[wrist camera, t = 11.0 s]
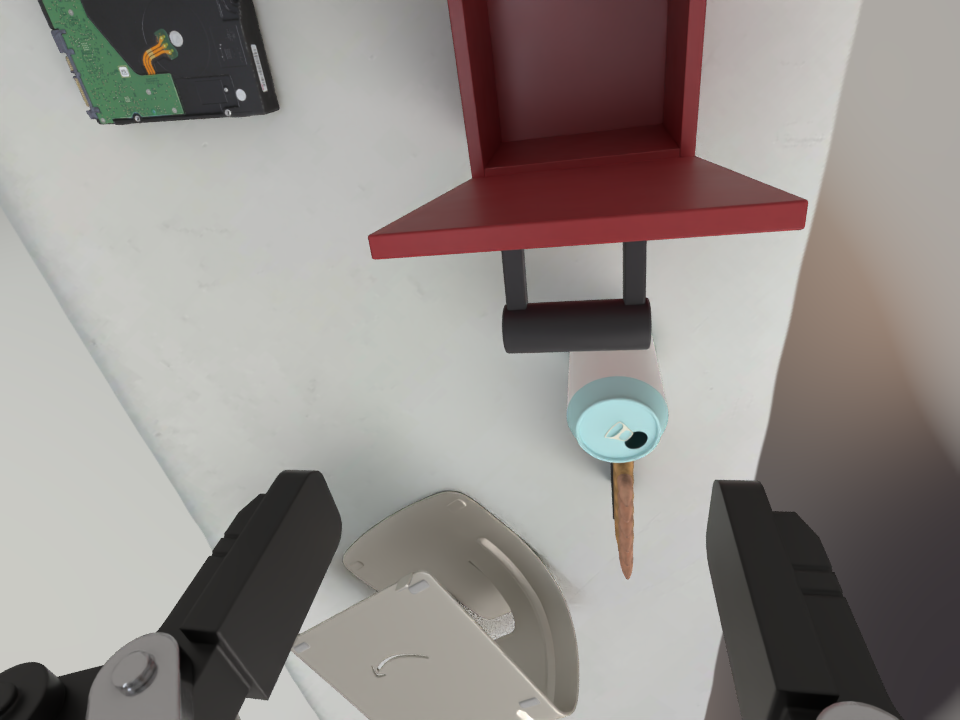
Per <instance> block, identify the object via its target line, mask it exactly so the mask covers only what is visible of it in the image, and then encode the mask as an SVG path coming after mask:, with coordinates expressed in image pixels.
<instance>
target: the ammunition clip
mask: <svg viewBox="0 0 960 720" xmlns="http://www.w3.org/2000/svg"><path fill="white" fill-rule="evenodd" d="M633 468H634V462H633V461H631V462H625V463H612V462H611V486H612V505H613V519H615V535H616V540H617V543H618V551H619V559H620V564H621V568H622V571H623V574H624V576H625V577H626V579H629V578H630V576H631V573H632V568H633V539H634V533H633V526H634V520H633V513H634V506H633V499H634V493H633V483H634V478H633Z"/></svg>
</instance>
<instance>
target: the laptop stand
mask: <svg viewBox="0 0 960 720" xmlns="http://www.w3.org/2000/svg"><path fill="white" fill-rule="evenodd" d="M343 563H344V565H345V567H346V568H347V569H348V570H349V571H350V572H351V573H353V574H354V575H355V576H356V577H358V578H359V579H361V580H362V581H363V582H365V583H366V584H368V585H369V586H371V587H372V588H373V589H375V590H376V591H378V592H377V593H375V594H373V595H371V596H370V597H368V598H366V599H364V600H362V601H360V602H359V603H357V604H355V605H353V606H351V607H349V608H347V609H346V610H344V611H342V612H340V613H338V614H336V615H334V616H333V617H331V618H329V619H327V620H325V621H323V622H322V623H320V624H318V625H316V626H314V627H312V628H310V629H309V630H307V631H305V632H303V633H301V634H298V635H297V638H296V640H295V642H294V644H293V646H292V649H291V651H292V652H293V653H294V654H295V655H296V656H297V657H299V658H300V659H301V660H302V661H303V662H304V663H306V664H307V665H308V666H309V667H310V668H311V669H312V670H314V671H315V672H316V673H317V674H318V675H319V676H321V677H322V678H323V679H324V680H325V681H326V682H327V683H329V684H330V685H331V686H332V687H333V688H334V689H335V690H337V691H338V692H339V693H340V694H341V695H342V696H343V697H345V698H346V699H347V700H348V701H349V702H350V703H351V704H352V705H354V706H355V707H356V708H357V709H358V710H359V711H360V712H362V713H363V714H364V715H365V716H366V717H367V718H368V719H370V720H555V719H559V718H563V717H566V716H569V715H571V714H572V713H573V712H574V711H575V709H576V705H577V701H578V693H579V657H578V648H577V641H576V635H575V630H574V625H573V622H572V618H571V615H570V612H569V609H568V606H567V603H566V601H565V598H564V596H563V594H562V592H561V590H560V588H559V586H558V584H557V583H556V581H555V580H554V578H553V577H552V575H551V574H550V572H549V571H548V569H547V568H546V567H545V565H544V564H543V563H542V561H541V560H540V559H539V557H538V556H537V555H536V554H535V553H534V552H533V551H532V550H531V548H530V547H529V546H528V545H527V544H526V543H525V542H524V541H523V540H522V539H521V538H520V537H519V536H518V535H517V534H515V533H514V532H513V531H512V530H510V529H509V528H508V527H507V526H505V525H504V524H503V523H502V522H500V521H499V520H498V519H497V518H495V517H494V516H493V515H492V514H490V513H489V512H488V511H487V510H486V509H484V508H483V507H482V506H481V505H479V504H478V503H477V502H475V501H474V500H472V499H471V498H469V497H468V496H466V495H464V494H461V493H458V492H453V491H447V492H441V493H438V494H435V495H432V496H430V497H427V498H425V499H422V500H420V501H418V502H416V503H414V504H411V505H409V506H407V507H405V508H403V509H402V510H400V511H398V512H396V513H394V514H393V515H391V516H389V517H388V518H386V519H384V520H383V521H381V522H380V523H378V524H377V525H375V526H374V527H373V528H371V529H370V530H369V531H367V532H366V533H365V534H364V535H362V536H361V537H360V538H359V539H358V540H357V541H356V542H355V543H354V544H353V545H352V546H351V547H350V548H349V549H348V550H347V551H346V553H345V554H344V556H343ZM455 599H456V600H457V601H459V602H460V603H462V604H463V605H464V606H466V607H467V608H469V609H470V610H472V611H473V612H474V613H476V614H477V615H479V616H481V617H482V618H485V619H494V618H497V617H500V616H502V615H505V614H507V613H510V612H512V614H513V616H514V620H515V629H514V631H513V632H512V633H510V634H507V635H505V636H503V637H500V638H498V639H495V640H493V639H492V638H491V637H490V636H489V635H488V634H487V633H486V632H485V631H484V629H483V628H482V627H481V626H480V625H479V624H478V623H477V622H476V621H475V620H474V619H473V618H472V617H471V616H470V615H469V613H468V612H467V611H466V610H465V609H464V608H463V607H462V606H461V605H460V604H459V603H458V602H457V601H456V600H455ZM401 654H413V655H402V656H397V657H394V658H392V659H390V660H388V661H387V662H386V663H385V664H384V665H383V666H382V667H381V669H378V666H379V664H380V663H381V662H382V661H384V660H385V659H387V658H389V657H391V656H394V655H401ZM421 655H424V656H421ZM373 668H374V669H373ZM374 670H375V671H374ZM375 672H376V673H375ZM377 674H384V675H377Z"/></svg>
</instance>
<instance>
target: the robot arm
mask: <svg viewBox="0 0 960 720" xmlns="http://www.w3.org/2000/svg"><path fill="white" fill-rule="evenodd" d="M341 532H342V521H341V517H340V514H339V512H338V509H337V507H336V504H335V502H334V500H333V497H332V495H331V493H330V490H329V488H328V486H327V483H326V481H325V479H324V477H323V475H322V473H321V472H319V471H311V470H285V471H282V472H281V473H280V474H279V475H278V476H277V478H276V479H275V481H274V482H273V484H272V485H271V487H270V488H269V490H268V491H267V493H266V494H259V495H258V496H257V497H256V498H255V499H253V500H252V501H251V502H250V503H249V504H248V505H247V506H245V507H244V508H243V509H242V510H241V511H240V512H239V513H238V514H237V516H236V517H235V519H234V520H233V522H232V523H231V525H230V526H229V528H228V529H227V530H226V532H225V533H224V534H225V536H224V538H221V539H220V541H219V542H218V544H217V545H216V547H215V548H214V550H213V551H212V552H213V554H212V556H209V557H208V558H207V560H206V561H205V563H204V564H203V566H202V567H201V569H200V570H199V572H198V573H197V575H196V576H195V578H194V579H193V581H192V582H191V584H190V585H189V586H188V588H187V590H186V591H185V593H184V594H183V595H182V597H181V598H180V600H179V601H178V603H177V604H176V606H175V607H174V609H173V610H172V612H171V613H170V615H169V616H168V618H167V619H166V620H165V622H164V623H163V624H162V626H161V627H160V628H159V630H158V631H157V632H156V633H150V634H146V635H143V636H141V637H139V638H136V639H135V640H133V641H131V642H129V643H128V644H126V645H125V646H123V647H122V648H121V649H120V650H118V651H117V652H116V653H115V654H114V655H113V656H112V657H111V658H110V659H109V660H108V661H107V662H106V663H105V664H104V665H102V666H99V667H95V668H91V669H87V670H83V671H79V672H75V673H71V674H67V675H63V676H59V677H56V676H55V675H54V674H53V673H52V672H51V671H50V670H48V669H47V668H46V667H45V666H44V665H42V664H40V663H36V662H28V663H23V664H19V665H17V666H14V667H12V668H10V669H8V670H5V671H4V672H2V673H0V720H240V717H239V715H238V712H239V710H240V708H241V706H242V704H243V702H244V700H245V698H253V699H261V700H268V699H269V697H270V695H271V692H272V690H273V688H274V686H275V683H276V682H277V679H278V677H279V675H280V673H281V671H282V668H283V666H284V664H285V662H286V660H287V657H288V655H289V653H290V651H291V649H292V646H293V644H294V642H295V640H296V638H297V635H298V633H299V631H300V629H301V627H302V624H303V622H304V620H305V618H306V616H307V613H308V611H309V609H310V607H311V605H312V602H313V600H314V598H315V596H316V594H317V591H318V589H319V587H320V585H321V583H322V580H323V578H324V576H325V574H326V572H327V569H328V567H329V565H330V563H331V561H332V558H333V556H334V554H335V552H336V550H337V547H338V545H339V542H340V538H341ZM706 550H707V559H708V565H709V570H710V575H711V579H712V584H713V589H714V593H715V598H716V602H717V607H718V611H719V616H720V621H721V625H722V630H723V634H724V639H725V643H726V648H727V653H728V657H729V662H730V667H731V671H732V676H733V680H734V685H735V690H736V694H737V699H738V703H739V707H740V712H741V717H742V720H904V719H903V718H902V717H901V716H900V714H899V713H898V711H897V710H896V708H895V707H894V705H893V704H892V702H891V700H890V698H889V696H888V694H887V692H886V690H885V687H884V686H883V683H882V680H881V678H880V676H879V674H878V671H877V669H876V667H875V664H874V662H873V660H872V658H871V655H870V653H869V651H868V648H867V646H866V644H865V642H864V639H863V637H862V635H861V632H860V630H859V628H858V625H857V623H856V621H855V619H854V616H853V614H852V612H851V609H850V607H849V605H848V602H847V600H846V598H845V597H843V595H842V589H841V587H840V584H839V582H838V580H837V577H836V575H835V573H834V572H832V566H831V564H830V561H829V559H828V557H827V554H826V552H825V550H824V547H823V545H822V543H821V540H820V538H819V537H818V536H817V535H816V534H815V533H814V531H813V530H812V529H811V528H810V527H809V526H808V525H807V524H806V523H805V522H804V521H803V520H802V519H801V518H800V517H799V516H798V515H797V513H795V512H778V511H772V509H771V507H770V504H769V501H768V498H767V495H766V493H765V490H764V488H763V486H762V484H761V483H760V482H759V481H744V480H715V481H714V483H713V488H712V495H711V502H710V509H709V517H708V524H707V531H706Z"/></svg>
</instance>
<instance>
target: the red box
mask: <svg viewBox="0 0 960 720" xmlns="http://www.w3.org/2000/svg"><path fill="white" fill-rule="evenodd" d="M447 1H448V8H449V16H450V23H451V30H452V37H453V44H454V51H455V58H456V66H457V73H458V80H459V87H460V94H461V101H462V109H463V116H464V123H465V130H466V137H467V144H468V151H469V159H470V166H471V173H472V179H473V178H483V177H493V176H503V175H512V174H522V173H532V172H542V171H552V170H562V169H572V168H582V167H592V166H602V165H611V164H621V163H631V162H641V161H651V160H661V159H671V158H681V157H691V156H695V147H696V134H697V120H698V107H699V94H700V81H701V67H702V54H703V41H704V28H705V14H706V1H707V0H447Z"/></svg>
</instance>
